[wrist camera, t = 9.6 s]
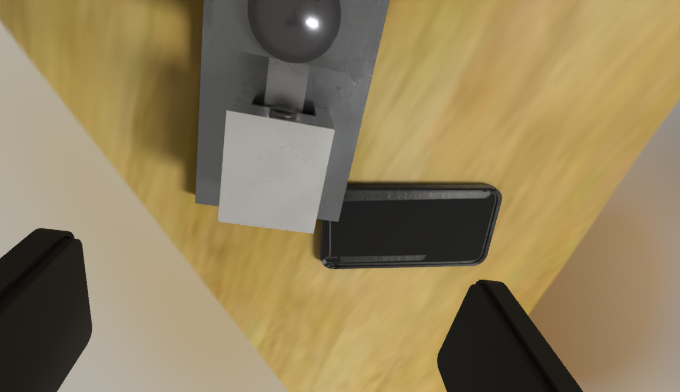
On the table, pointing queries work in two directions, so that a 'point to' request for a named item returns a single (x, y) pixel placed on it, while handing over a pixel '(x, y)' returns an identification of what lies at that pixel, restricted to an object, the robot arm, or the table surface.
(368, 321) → the table surface
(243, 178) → the block
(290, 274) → the table surface
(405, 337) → the table surface
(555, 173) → the table surface
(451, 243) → the phone
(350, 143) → the coupler
